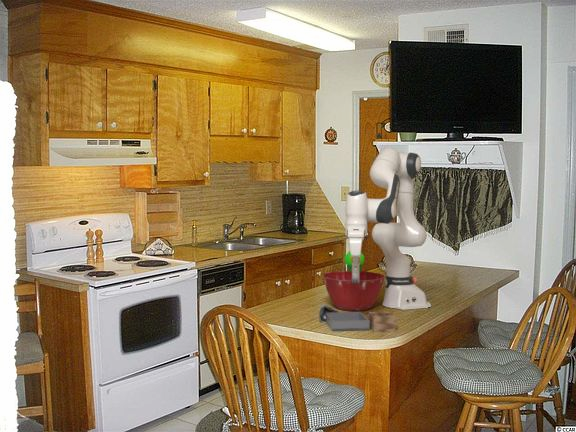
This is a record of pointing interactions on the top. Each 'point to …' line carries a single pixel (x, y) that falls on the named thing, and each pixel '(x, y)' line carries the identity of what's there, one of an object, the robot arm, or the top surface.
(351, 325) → the tray
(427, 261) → the top surface
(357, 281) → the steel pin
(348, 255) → the plastic bottle
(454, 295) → the top surface
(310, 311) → the top surface
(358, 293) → the mixing bowl
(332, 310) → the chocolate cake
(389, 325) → the hitch block
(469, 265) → the top surface
